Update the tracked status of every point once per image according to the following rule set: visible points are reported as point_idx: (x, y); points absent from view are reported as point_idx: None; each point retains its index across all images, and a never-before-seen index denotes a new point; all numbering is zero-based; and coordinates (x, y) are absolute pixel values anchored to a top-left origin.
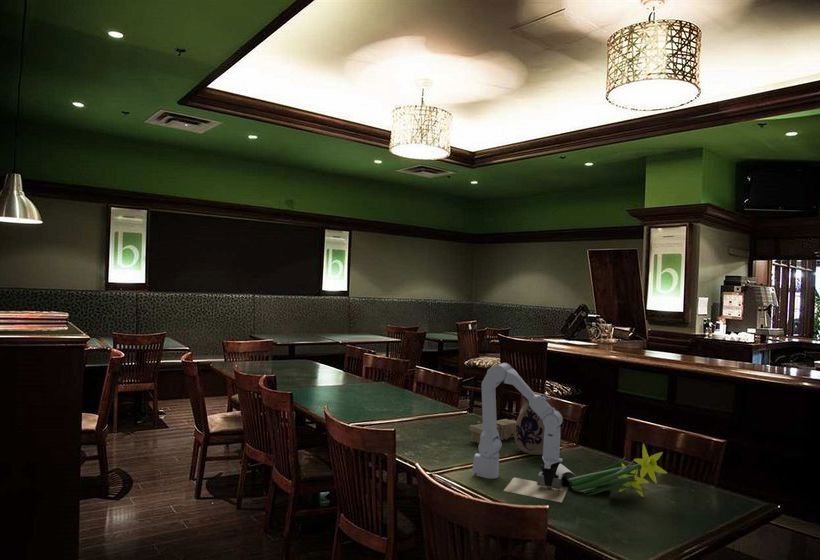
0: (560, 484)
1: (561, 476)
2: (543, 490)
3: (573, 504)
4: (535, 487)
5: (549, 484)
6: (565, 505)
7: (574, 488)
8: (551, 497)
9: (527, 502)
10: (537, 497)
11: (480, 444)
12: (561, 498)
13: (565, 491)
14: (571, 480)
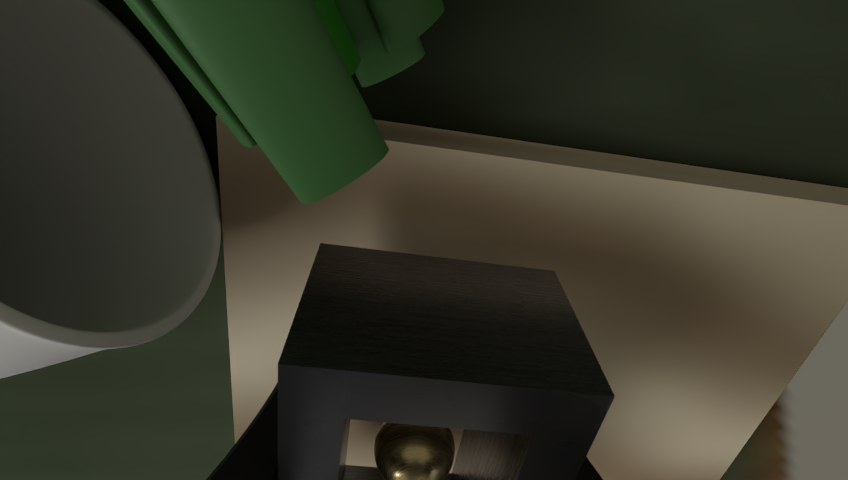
0: (549, 314)
1: (376, 383)
2: None
3: (749, 25)
4: None
5: None
6: (795, 141)
7: (432, 17)
8: (725, 329)
9: (738, 462)
10: (741, 441)
11: None
12: (749, 218)
13: (422, 162)
14: (367, 129)
